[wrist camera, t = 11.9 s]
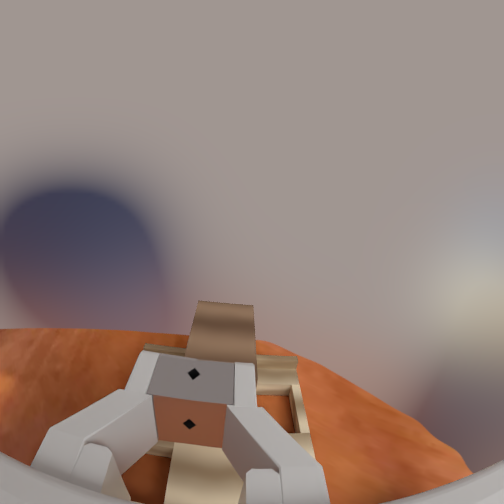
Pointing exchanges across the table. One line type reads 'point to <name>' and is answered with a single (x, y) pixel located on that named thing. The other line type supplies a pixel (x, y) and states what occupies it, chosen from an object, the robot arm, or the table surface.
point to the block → (223, 334)
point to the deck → (213, 459)
